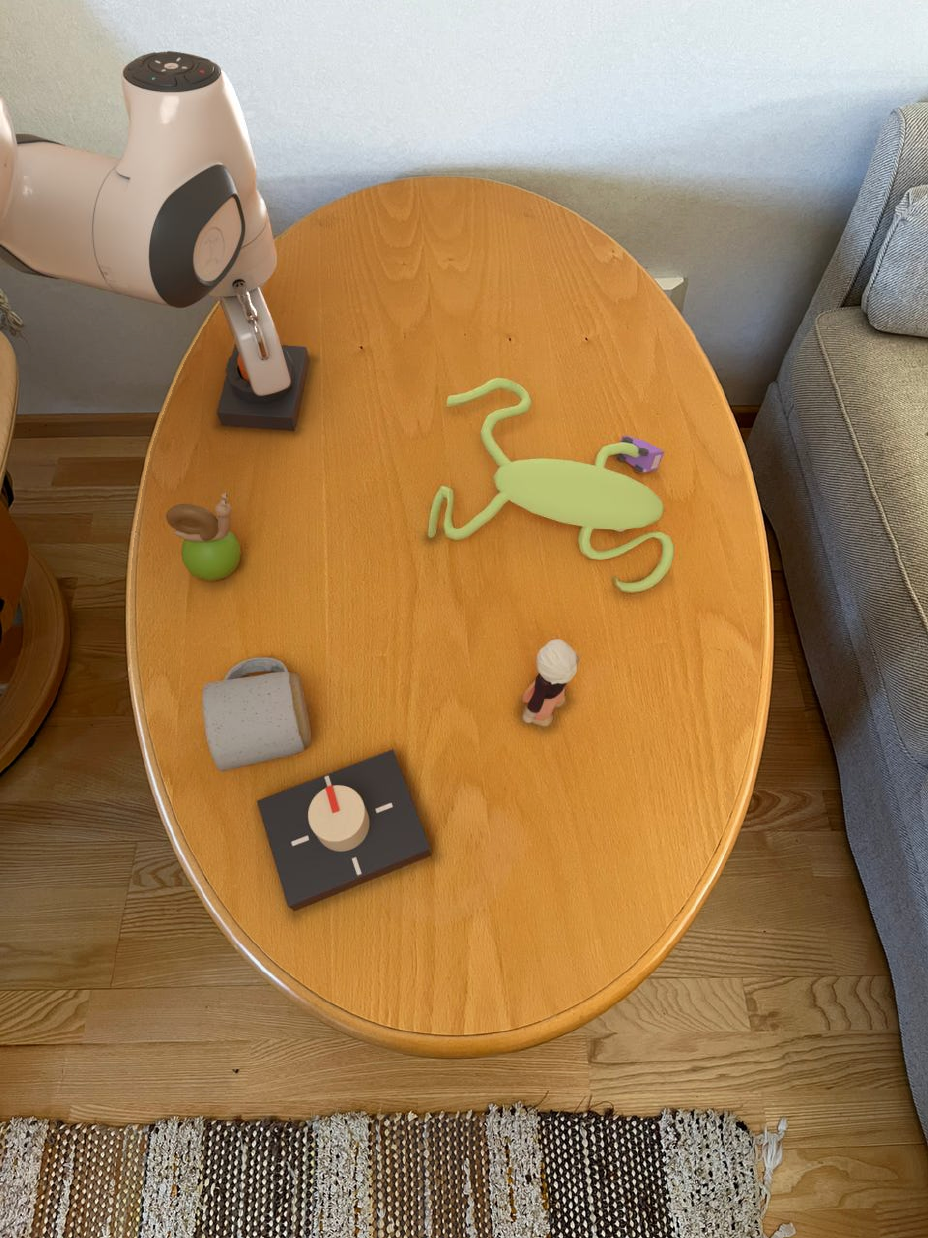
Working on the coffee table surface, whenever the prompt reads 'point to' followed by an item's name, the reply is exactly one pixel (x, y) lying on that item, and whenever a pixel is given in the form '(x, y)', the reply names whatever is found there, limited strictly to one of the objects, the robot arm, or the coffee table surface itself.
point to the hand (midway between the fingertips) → (257, 358)
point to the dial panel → (328, 872)
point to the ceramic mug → (255, 715)
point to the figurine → (567, 489)
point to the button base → (267, 410)
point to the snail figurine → (206, 539)
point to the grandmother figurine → (549, 682)
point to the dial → (338, 818)
